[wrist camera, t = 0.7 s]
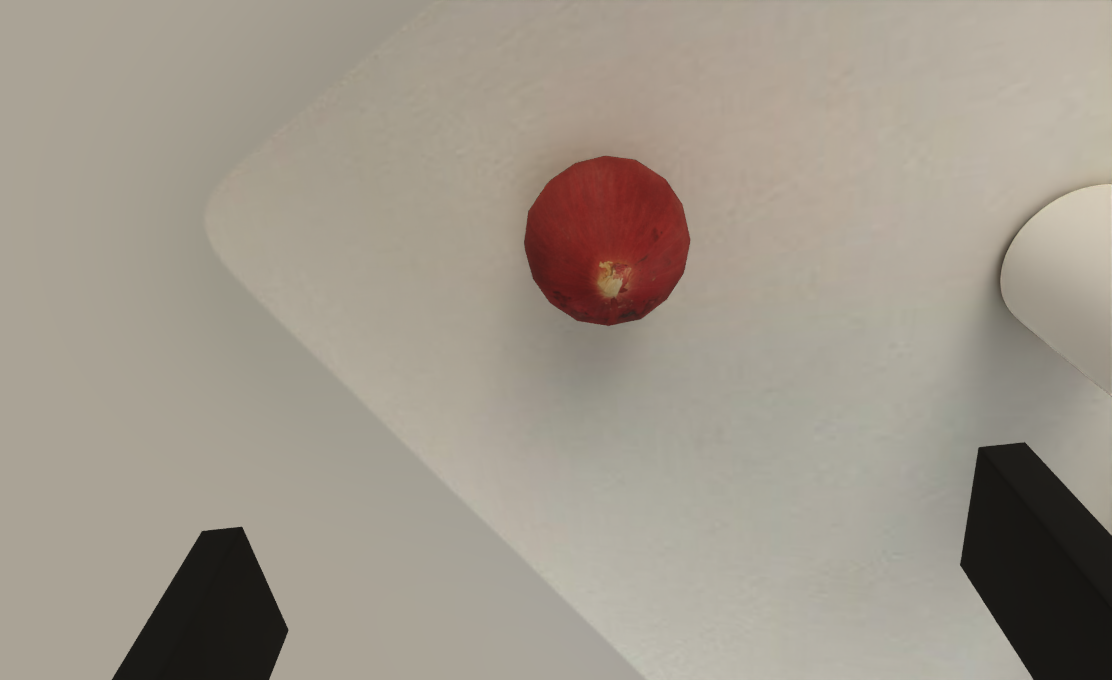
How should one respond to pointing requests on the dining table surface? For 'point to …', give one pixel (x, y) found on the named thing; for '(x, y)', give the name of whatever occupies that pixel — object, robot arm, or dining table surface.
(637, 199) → the onion
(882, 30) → the dining table surface
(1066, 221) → the can
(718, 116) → the dining table surface
